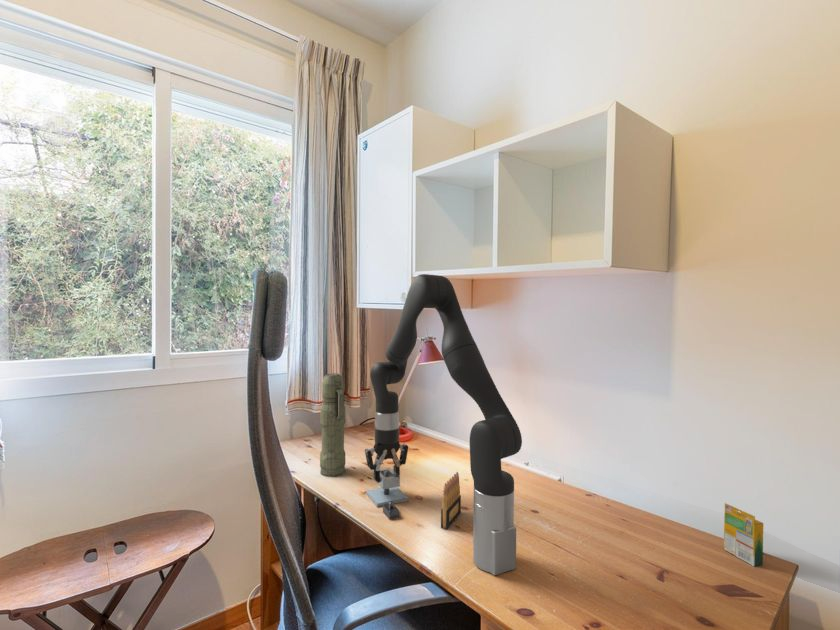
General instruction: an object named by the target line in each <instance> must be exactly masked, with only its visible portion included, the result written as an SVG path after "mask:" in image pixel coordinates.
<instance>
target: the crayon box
mask: <svg viewBox="0 0 840 630" xmlns="http://www.w3.org/2000/svg"><path fill="white" fill-rule="evenodd" d="M723 523H724V525H723V526H724V528H723V550H724V551H726V552H728V553H729V554H731V555H732V556H735V557H737V558H738V559H740V560H742V561H744V562H745V563H747V564H749V565H750V566H752V567H757V566H762V565H763V564H764V562H763V559H764V557H763V556H764V523H763V522H762V521H761V520H760V521H759V520H757V519H756V516H755V515H753V514H750V513H748V512H746V511H743V510H742V509H739V508H737V507H735V506H733V505H730V504H728V503H726V502H725V503H724V522H723Z"/></svg>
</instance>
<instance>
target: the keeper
mask: <svg viewBox="0 0 840 630" xmlns="http://www.w3.org/2000/svg"><path fill="white" fill-rule="evenodd" d="M384 477H389V471H384ZM365 495H366V496H367V497H368V498H369V499H370V501H371V502H372V503H373V504H374V505H375V506H376V508H380V507H383V505H385V504H389V501H393V504H394V505H395V504H398V503H402V502H408V501H409V496H407V495H406V494H405V493H404V492H403V490H401V488H399V487H394V488H389V489H382V488H381V487H378V488H373V489H368V490H365Z"/></svg>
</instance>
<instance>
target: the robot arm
mask: <svg viewBox="0 0 840 630" xmlns="http://www.w3.org/2000/svg"><path fill="white" fill-rule="evenodd" d="M424 309H435V310H436V312H437V313H438V315H439V317H440V320H441V323H442V326H443V333H442V334H443V335H442V339H441V356H442V359H443V362H444V364H445V366H446V368H447V371H448V372H449V375H450V377H451V379H452V380H453V382H455V383H456V384H457V386H458V387H460V388H461V389H462V390H463V392H465V393H466V394H467V395H468V396H469V397H471V399H472V400H474V402H475V403H476V404H477V407H478V408H479V409H480V411H481V413H482V415H483V417H484V419H483V420H479V421H477V422H475V423H474V424H473V426H472V427H471V430H470V433H469V460H470V461H469V462H470V465H469V466H470V472H471V473H470V474H471V476H472V480H473V520H472V521H473V522H472V523H473V533H472V534H473V535H472V536H473V537H472V538H473V540H472V543H473V548H472V550H473V552H472V555H473V556H472V558H473V559H472V560H473V563H474V565H475V566H476V567H477V568H478V569H480V570H482V571H484V572H487V573H490V574H491V575H493V576H498V575H500V574H503V573H507V572H510V571H513V570H515V569H517V527H516V526H515V525H514V522H515V514H514V513H515V479H514V476H513V475H512V474H510V473H509V472H507V471H505V470H503V469H502V459H505V458H508V457H512V456H514V455H516V454H518V453H519V452H520V451H521V449H522V445H523V439H522V438H523V436H522V433H521V429H520V427H519V425H518V423H517V421H516V420H515V418H514V416H513V414H512V413H511V411H510V409H509V407H508V406H507V403H506V402H505V401H504V398H503V397H502V396H501V394H500V392H499V390H498V388H497V386H496V384H495V382H494V380H493V378H492V376H491V373H490V372H489V370H488V368H487V366H486V363H485V360H484V359H483V356H482V354H481V351H480V349H479V347H478V345H477V343H476V341H475V340H474V337H473V335H472V333H471V330H470V328H469V326H468V323H467V322H466V319H465V317H464V314H463V311H462V308H461V306H460V303H459V299H458V296H457V294H456V290H455V289H454V286H453V283H452V282H451V281H450V280H449V278H447V277H445V276H442V275H437V274H436V275H435V274H428V273H422V274H418V275H417V276H415V277H414V278H413V280H412V282H411V283H410V286H409V288H408V291H407V294H406V299H405V301H404V305H403V307H402V311H401V313H400V319H399V321H398V325H397V327H396V330H395V332H394V334H393V336H392V338H391V340H390V342H389V344H388V346H387V348H386V350H385V357H386V359H387V361H380V362H375V363H374V364H373V365H372V367H371V369H370V374H369V376H370V377H369V378H370V381H371V385H372V389H373V393H374V397H375V414H374V415H375V416H374V445H373V447H372V448H365V449H364V454H365V459H366V464H367V467H368V469H369V470H371V471H373V480H374V482H375V481H376V482H377V483H379V482H380V470H379V469H381V467H382V466H381V465H382V464H383V463H384V460H388V459H390V460H392V462H393V464H394V465H393V466H392V467H393V468H392V470H393V471H394V472H395V473H397V474H398V475H399V476H400V473H401V471H400V470H401V466H403V465H406V462H407V457H408V453H409V446H408V445H407V444H406V443H405V442H403V443H400V415H399V395H398V393H397V392H396V391H392V390H391V391H390V390H388V386H387V385H391V384H392V385H394V384H398V383H400V382H401V381H402V380H403V379H404V377H405V374H406V370H407V365H408V359H409V358H410V356H411V354H412V352H413V350H414V348H415V346H416V344H417V340H418V331H417V322H418V318H419V316H420V315H421V314H422V311H423V310H424ZM399 450H400V453H399V457H398V454H397V453H398V451H399ZM374 453H375V454H376V456H375V459H374V462H373V456H374ZM400 477H401V476H400ZM376 482H375V483H376ZM377 483H376V484H377Z"/></svg>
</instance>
